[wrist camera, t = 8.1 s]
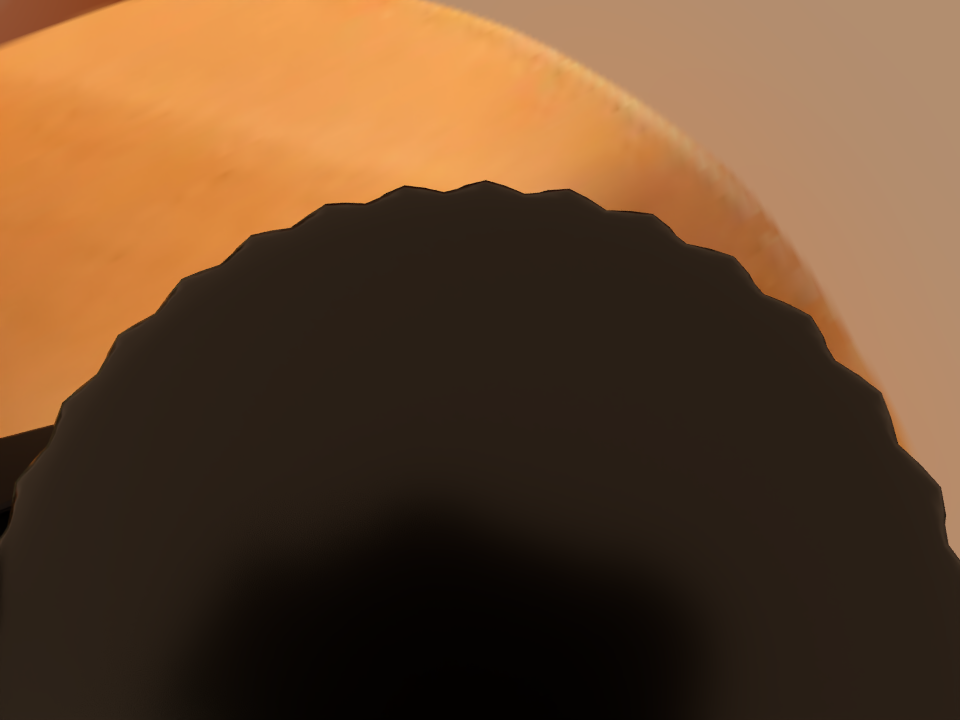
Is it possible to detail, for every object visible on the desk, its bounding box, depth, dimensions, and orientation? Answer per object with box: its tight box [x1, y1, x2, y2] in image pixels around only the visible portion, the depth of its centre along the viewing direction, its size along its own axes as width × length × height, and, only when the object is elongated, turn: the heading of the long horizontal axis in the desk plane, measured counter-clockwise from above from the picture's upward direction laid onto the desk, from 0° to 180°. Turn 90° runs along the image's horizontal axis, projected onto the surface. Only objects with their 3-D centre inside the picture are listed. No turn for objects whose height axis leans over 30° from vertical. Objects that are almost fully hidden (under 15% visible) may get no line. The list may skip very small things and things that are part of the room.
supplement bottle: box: [0, 180, 960, 720], centre depth 9 cm, size 7×7×12 cm
